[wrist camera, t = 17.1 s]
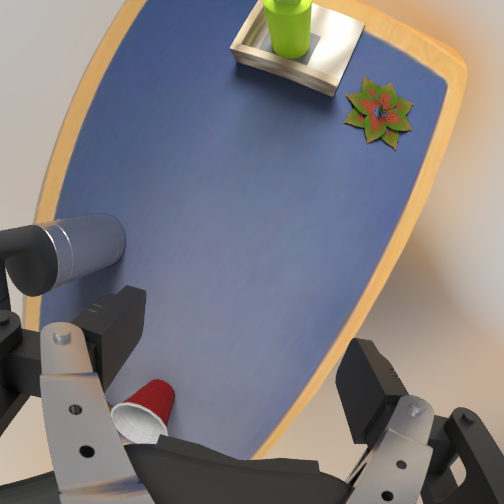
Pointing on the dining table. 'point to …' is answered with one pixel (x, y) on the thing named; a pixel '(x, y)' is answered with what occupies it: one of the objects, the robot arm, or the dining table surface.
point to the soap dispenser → (289, 26)
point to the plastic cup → (145, 413)
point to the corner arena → (317, 57)
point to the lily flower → (388, 101)
